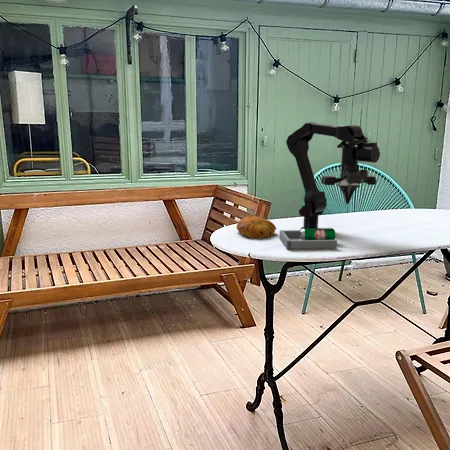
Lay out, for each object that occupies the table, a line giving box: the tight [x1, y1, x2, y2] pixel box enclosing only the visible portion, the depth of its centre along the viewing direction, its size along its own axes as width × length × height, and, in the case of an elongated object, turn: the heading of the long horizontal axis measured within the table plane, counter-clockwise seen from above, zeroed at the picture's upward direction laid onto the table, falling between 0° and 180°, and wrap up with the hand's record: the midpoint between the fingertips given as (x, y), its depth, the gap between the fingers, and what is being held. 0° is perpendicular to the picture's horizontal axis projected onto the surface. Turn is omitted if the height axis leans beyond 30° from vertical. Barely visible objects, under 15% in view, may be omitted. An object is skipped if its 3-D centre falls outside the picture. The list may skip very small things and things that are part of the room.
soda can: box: [299, 227, 337, 240], centre depth 163 cm, size 5×5×12 cm
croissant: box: [236, 215, 277, 239], centre depth 177 cm, size 14×16×8 cm
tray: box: [278, 229, 338, 251], centre depth 163 cm, size 16×17×3 cm
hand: (347, 203), depth 168 cm, fingers closed
